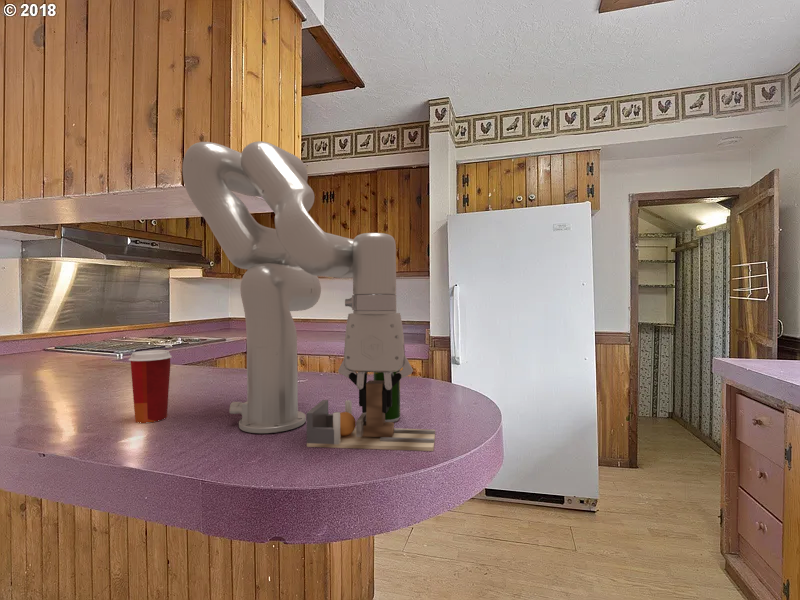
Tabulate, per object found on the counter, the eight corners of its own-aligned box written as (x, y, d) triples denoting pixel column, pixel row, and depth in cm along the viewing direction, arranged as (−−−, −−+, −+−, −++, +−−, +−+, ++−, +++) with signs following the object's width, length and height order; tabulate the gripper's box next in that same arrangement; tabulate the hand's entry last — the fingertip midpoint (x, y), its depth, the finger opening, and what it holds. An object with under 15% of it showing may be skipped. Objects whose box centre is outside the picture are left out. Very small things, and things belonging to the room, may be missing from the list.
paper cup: (176, 412, 89) (175, 349, 89) (168, 422, 82) (167, 353, 82) (134, 416, 87) (134, 350, 87) (123, 426, 80) (122, 355, 80)
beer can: (382, 425, 79) (381, 363, 79) (369, 418, 83) (368, 360, 83) (405, 420, 82) (404, 360, 82) (391, 414, 86) (390, 357, 86)
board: (306, 446, 68) (306, 440, 68) (323, 429, 76) (323, 423, 76) (433, 451, 65) (433, 444, 65) (435, 432, 74) (435, 426, 74)
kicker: (395, 429, 73) (394, 378, 73) (390, 440, 67) (390, 385, 67) (363, 428, 74) (363, 378, 74) (356, 439, 68) (355, 385, 68)
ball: (348, 442, 69) (327, 434, 70) (354, 434, 73) (333, 427, 74) (355, 420, 69) (333, 412, 70) (360, 413, 73) (339, 406, 74)
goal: (306, 443, 67) (306, 413, 67) (323, 426, 77) (323, 399, 77) (339, 444, 67) (339, 414, 67) (352, 427, 76) (352, 400, 76)
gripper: (322, 306, 68) (323, 415, 68) (420, 305, 66) (421, 418, 66) (335, 305, 75) (336, 404, 75) (422, 304, 74) (423, 406, 74)
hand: (375, 409), depth 71 cm, fingers closed on kicker, 2 cm apart
